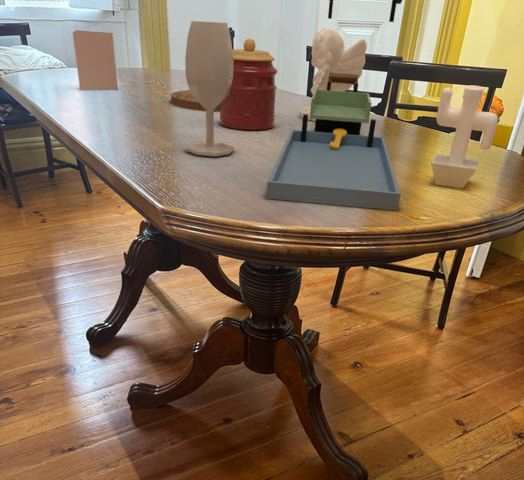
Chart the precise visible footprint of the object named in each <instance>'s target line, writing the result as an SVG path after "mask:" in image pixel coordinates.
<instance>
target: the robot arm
mask: <svg viewBox="0 0 524 480" xmlns="http://www.w3.org/2000/svg"><path fill="white" fill-rule="evenodd" d="M402 2H403V0H391V7H390V13H389V19H388V22H389V23H394V21H395V16H396V15H395V14H396V8H397V5H401V4H402ZM328 3H329V5H328V14H327V19H329V20H332V17H333V7H334V0H329V2H328Z"/></svg>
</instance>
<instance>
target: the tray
mask: <svg viewBox="0 0 524 480" xmlns="http://www.w3.org/2000/svg"><path fill="white" fill-rule="evenodd" d="M301 133H302V130H299V129H298V130H297V129H291V131H290V132H289V135H288V137H287V139H286V141H285V143H284V146H283V147H282V150H281V152H280V154H279V157H278V159H277V161H276V163H275V165H274V167H273V169H272V171H271V174H270V176H269V178H268V180H267V185H266V199H267V200H279V201H288V202H289V201H290V202H300V203H310V204H312V203H313V204H320V205H321V204H322V205H323V204H324V205H333V206H345V207H354V208H364V209H376V210H387V211H398V209H399V204H400V198H401V194H402V193H401V190H400V187H399V184H398V181H397V177H396V174H395V171H394V167H393V164H392V160H391V157H390V153H389V151H388V150H389V149H388V147H387V144H386V140H385V137H384V136H373V143H372V148H369V147H367V142H368V135H361V134H360V135H349V134H347V135H346V137H345V138H342V139H341V143H340V146H339V150H333V149H330V148H329V146H330V142H331V141H333V142H334V141H335V137H334V136H333V133H324V132H315V131H313V130H312V131H310V130H307V132H306V142H301Z"/></svg>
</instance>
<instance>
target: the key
mask: <svg viewBox="0 0 524 480" xmlns="http://www.w3.org/2000/svg"><path fill="white" fill-rule="evenodd" d="M346 135H347V132H346V130H344V129H341V128H338V129H335V130H334V131H333V136H334V137H335V141H334V142H333V141H331V142H330V146H329V148H330V149H333V150H339V146H340V143H341V139H342V138H345V137H346Z"/></svg>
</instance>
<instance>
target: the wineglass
mask: <svg viewBox="0 0 524 480" xmlns="http://www.w3.org/2000/svg"><path fill="white" fill-rule="evenodd" d="M232 50H233V45H232V37H231V32H230V28H229V25H228V23H227V22H221V21H220V22H219V21H205V20H202V21H201V20H191V21H190V26H189V29H188V33H187V38H186V48H185V58H184V60H185V61H184V64H185V79H186V83H187V86H188V90H189V91H190V94H191V95H192V96H193V97H194V98H195V99H196V100H197V101H198V102H199V103H200V104H201V105H202V106H203V107H204V108H205V109H206V112H205V119H206V120H205V121H206V123H205V129H206V130H205V132H206V134H205V135H206V136H205V139H206V141H202V142H193V143H191V144H189V145H187V146H186V148H185V151H186V152H189V153H190V154H194V155H195V156H203V157H204V156H205V157H215V158H216V157H221V156H227V155H231V153H233V151H234V146H232V145H228V144H226V143H223V142H215V137H214V136H215V132H214V131H215V128H214V127H215V125H214V123H215V122H214V121H215V120H214V119H215V117H214V113H215V111H214V109H215V108H216V107H217V106H218V105H219V104H220V103H221V102H222V101H223V100H224V99H225V98H226V97H227V96H228V95H229V92H230V88H231V84H232V80H233V52H232Z"/></svg>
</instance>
